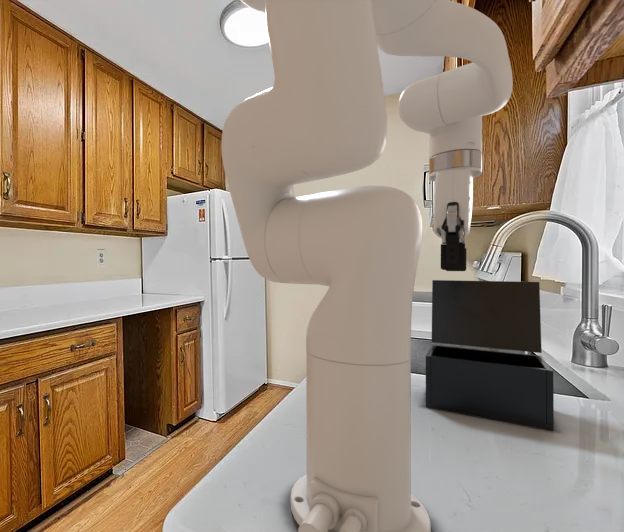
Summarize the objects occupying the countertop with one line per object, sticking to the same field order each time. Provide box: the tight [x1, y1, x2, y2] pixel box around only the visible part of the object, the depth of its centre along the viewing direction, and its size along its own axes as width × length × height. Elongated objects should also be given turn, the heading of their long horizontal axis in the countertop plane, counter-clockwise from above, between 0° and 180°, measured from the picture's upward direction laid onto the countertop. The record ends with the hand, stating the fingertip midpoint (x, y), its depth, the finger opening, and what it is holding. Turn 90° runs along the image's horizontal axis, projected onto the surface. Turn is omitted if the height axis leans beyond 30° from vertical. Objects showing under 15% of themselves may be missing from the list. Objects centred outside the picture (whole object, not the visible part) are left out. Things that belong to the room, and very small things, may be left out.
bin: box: [425, 344, 555, 431], centre depth 64 cm, size 12×17×9 cm
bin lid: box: [431, 279, 543, 354], centre depth 72 cm, size 12×17×6 cm
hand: (454, 270), depth 61 cm, fingers open, 9 cm apart
